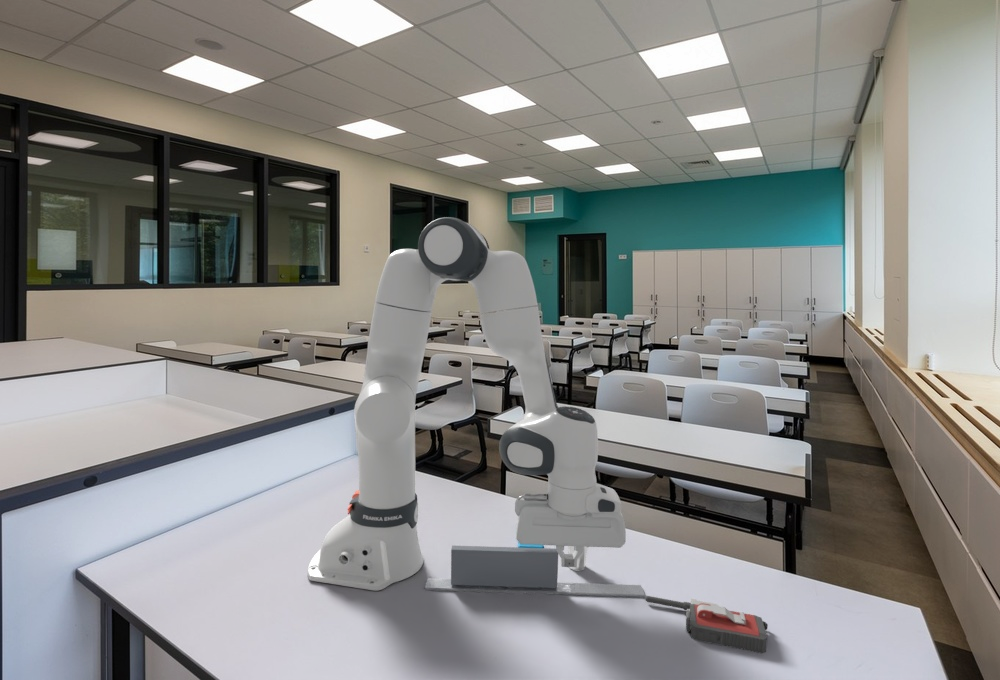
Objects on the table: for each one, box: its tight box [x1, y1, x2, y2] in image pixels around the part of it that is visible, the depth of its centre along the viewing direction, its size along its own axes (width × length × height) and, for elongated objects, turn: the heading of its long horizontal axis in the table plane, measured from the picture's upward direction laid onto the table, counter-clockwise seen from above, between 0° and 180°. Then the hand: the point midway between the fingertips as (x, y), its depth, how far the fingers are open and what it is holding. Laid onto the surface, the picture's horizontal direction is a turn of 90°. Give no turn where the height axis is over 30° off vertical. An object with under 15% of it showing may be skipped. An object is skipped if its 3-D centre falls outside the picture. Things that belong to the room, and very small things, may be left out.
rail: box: [424, 578, 646, 598], centre depth 99 cm, size 41×3×1 cm, turn 89°
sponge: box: [517, 541, 545, 548], centre depth 120 cm, size 2×12×6 cm
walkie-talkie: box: [644, 595, 768, 654], centre depth 89 cm, size 9×4×20 cm
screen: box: [450, 545, 559, 588], centre depth 99 cm, size 20×2×7 cm, turn 89°
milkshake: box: [567, 546, 588, 572], centre depth 106 cm, size 5×5×10 cm
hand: (568, 565), depth 99 cm, fingers closed
